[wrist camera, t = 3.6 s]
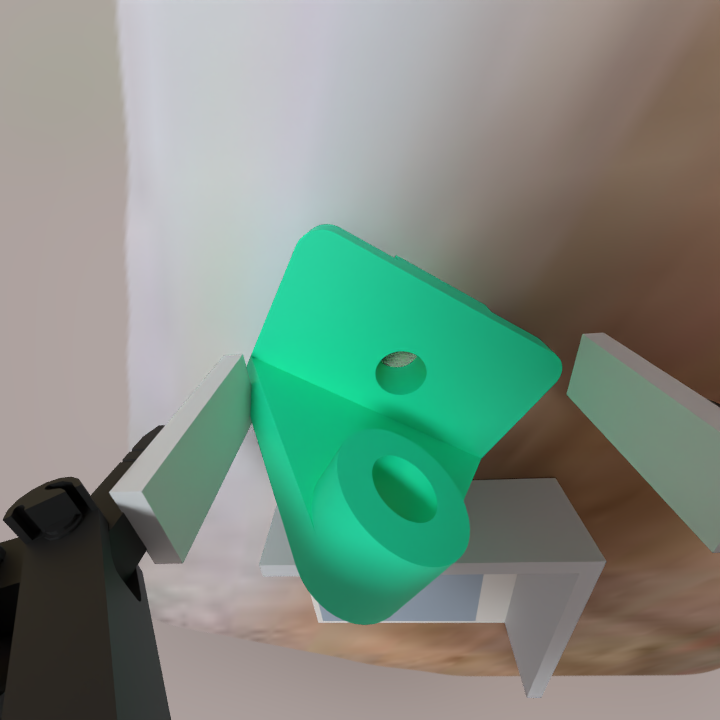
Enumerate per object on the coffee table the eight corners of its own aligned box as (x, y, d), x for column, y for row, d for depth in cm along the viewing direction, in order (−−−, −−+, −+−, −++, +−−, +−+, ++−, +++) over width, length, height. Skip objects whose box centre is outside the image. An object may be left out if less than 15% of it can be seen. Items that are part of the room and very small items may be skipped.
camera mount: (544, 337, 16) (770, 546, 7) (452, 441, 19) (522, 673, 10) (318, 211, 14) (208, 274, 4) (258, 355, 17) (126, 556, 8)
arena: (282, 485, 21) (258, 565, 17) (555, 477, 20) (606, 561, 16) (319, 617, 29) (309, 693, 25) (514, 617, 28) (541, 697, 24)
